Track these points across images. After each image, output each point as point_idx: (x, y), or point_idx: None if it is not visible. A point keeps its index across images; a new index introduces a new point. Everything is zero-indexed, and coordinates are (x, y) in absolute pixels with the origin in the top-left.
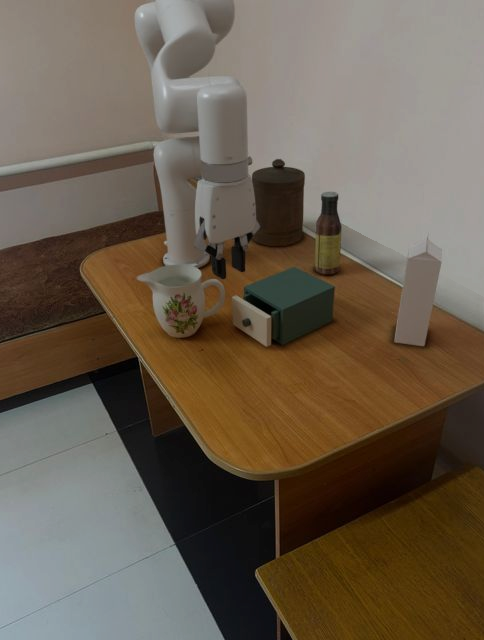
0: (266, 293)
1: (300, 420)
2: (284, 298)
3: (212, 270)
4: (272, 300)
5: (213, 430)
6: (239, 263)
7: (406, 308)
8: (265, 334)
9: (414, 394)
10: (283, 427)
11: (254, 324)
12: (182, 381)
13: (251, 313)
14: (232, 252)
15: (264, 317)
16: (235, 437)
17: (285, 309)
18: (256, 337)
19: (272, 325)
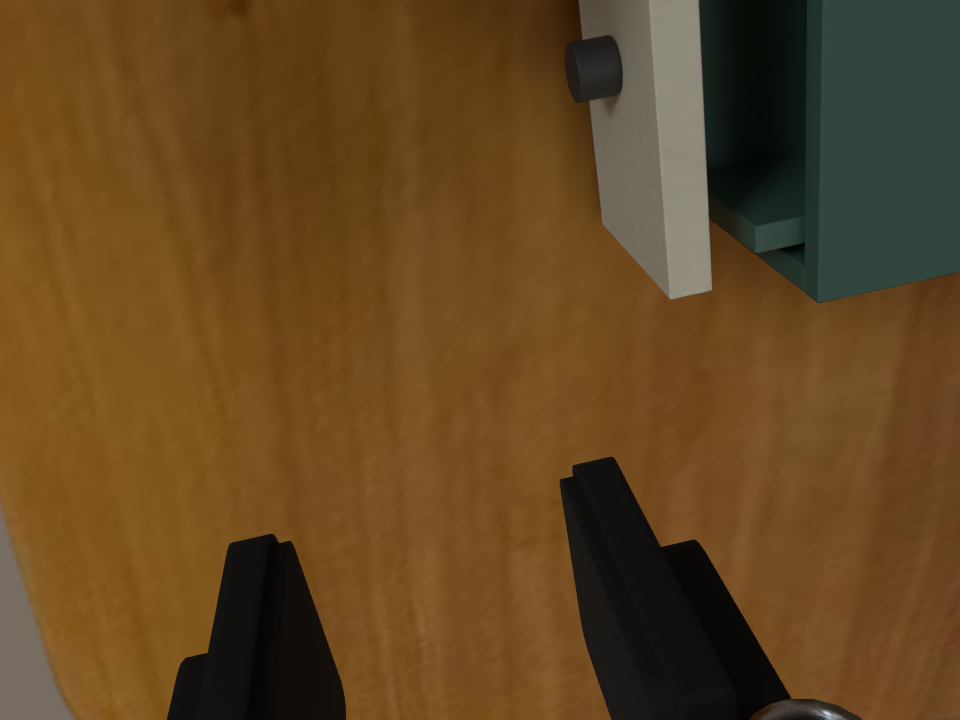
0: (895, 7)
1: (447, 670)
2: (939, 166)
3: (182, 671)
4: (850, 148)
5: (96, 615)
6: (608, 696)
7: None
8: (626, 240)
9: (872, 686)
10: (370, 680)
11: (622, 133)
12: (26, 261)
13: (644, 114)
14: (629, 674)
15: (667, 275)
16: (173, 669)
17: (836, 295)
18: (597, 134)
19: (712, 206)
